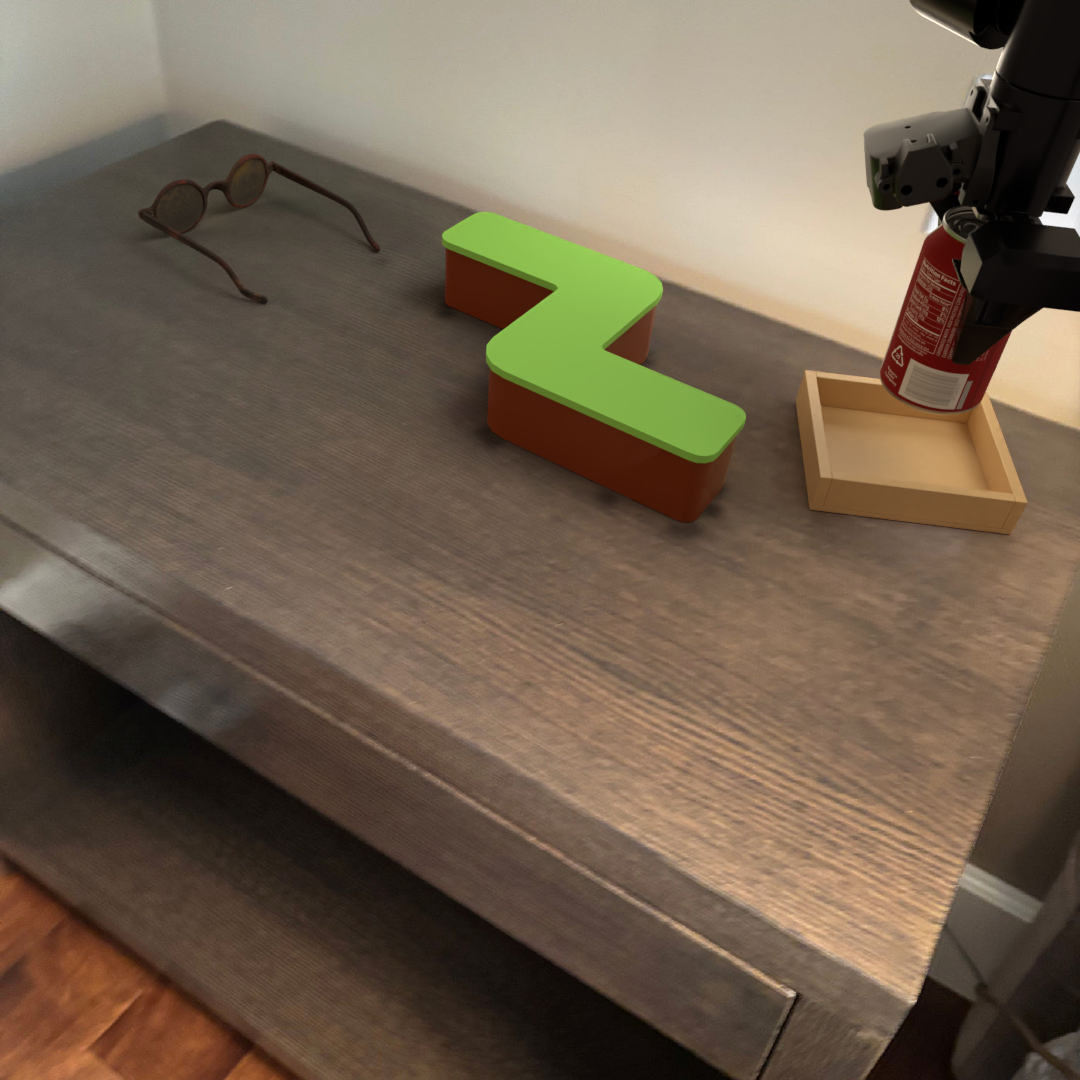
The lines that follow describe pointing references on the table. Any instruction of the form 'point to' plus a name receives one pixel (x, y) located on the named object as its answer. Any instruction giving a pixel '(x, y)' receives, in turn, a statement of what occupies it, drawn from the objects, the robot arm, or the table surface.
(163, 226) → the eyeglasses
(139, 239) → the table surface
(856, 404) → the tray
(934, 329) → the soda can
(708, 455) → the planter
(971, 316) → the robot arm
